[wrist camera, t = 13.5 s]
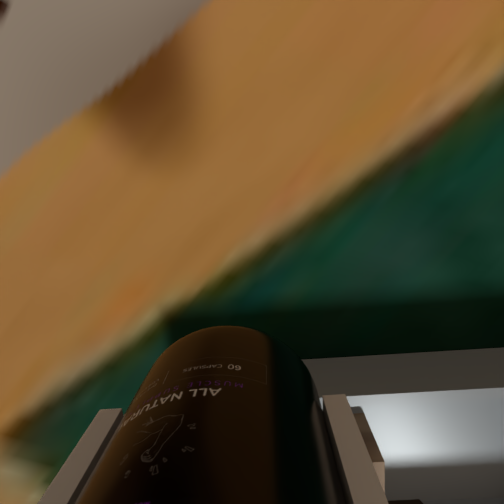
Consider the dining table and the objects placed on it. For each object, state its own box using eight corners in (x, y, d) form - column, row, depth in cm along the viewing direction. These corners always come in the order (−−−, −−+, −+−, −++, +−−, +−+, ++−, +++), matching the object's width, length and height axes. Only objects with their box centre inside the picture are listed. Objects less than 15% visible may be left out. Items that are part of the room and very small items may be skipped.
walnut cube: (305, 467, 30) (313, 524, 26) (302, 416, 29) (310, 465, 24) (364, 464, 30) (384, 521, 25) (364, 412, 29) (384, 461, 24)
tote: (215, 511, 32) (207, 572, 27) (196, 366, 29) (183, 405, 24) (530, 498, 31) (580, 559, 26) (547, 344, 28) (607, 381, 23)
